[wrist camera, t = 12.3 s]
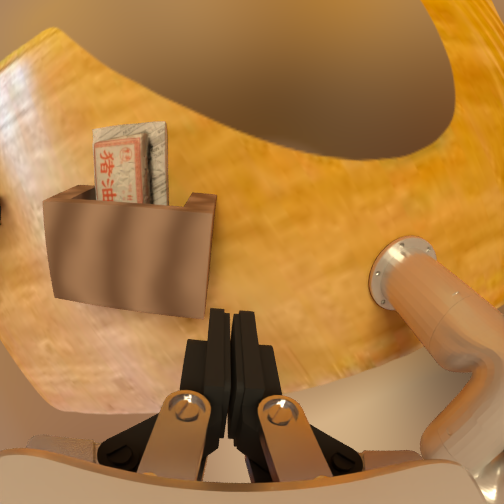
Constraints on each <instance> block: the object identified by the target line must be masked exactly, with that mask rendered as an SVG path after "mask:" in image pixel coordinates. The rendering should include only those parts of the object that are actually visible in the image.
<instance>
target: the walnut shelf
mask: <svg viewBox="0 0 504 504" xmlns="http://www.w3.org/2000/svg"><path fill="white" fill-rule="evenodd" d="M216 197H217V195H214V194H203V193H192V194H191V196H190V198H189V199H188V201H187V202H186V204H185V206H184V207H178V206H167V205H155V204H142V203H129V202H115V201H99V200H96V190H95V186H88V185H77V186H75V187H73V188H70V189H68V190H66V191H64V192H61V193H59V194H57V195H55V196H53V197H50V198H48V199H46V200H44V201H43V215H44V228H45V238H46V247H47V255H48V262H49V269H50V275H51V281H52V286H53V292H54V297H55V298H59V299H65V300H70V301H75V302H81V303H86V304H92V305H98V306H104V307H111V308H117V309H124V310H131V311H138V312H145V313H153V314H161V315H169V316H178V317H187V318H196V319H204V314H205V306H206V297H207V289H208V281H209V269H210V257H211V246H212V236H213V226H214V216H215V206H216Z"/></svg>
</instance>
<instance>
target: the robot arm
mask: <svg viewBox="0 0 504 504" xmlns="http://www.w3.org/2000/svg"><path fill="white" fill-rule="evenodd" d="M369 288H370V292H371V295H372V297H373V298H374V300H375V301H376V302H377V304H378V305H379V306H381V307H383V308H385V309H388V310H396V311H397V312H398V314H399V315H400V316H401V317H402V319H403V320H404V321H405V322H406V324H407V325H408V326H409V327H410V329H411V330H412V331H413V332H414V334H415V335H416V336H417V338H418V339H419V340H420V341H421V343H422V344H423V345H424V347H425V348H426V349H427V350H428V352H429V353H430V354H431V356H432V357H433V358H434V359H435V361H436V362H437V363H438V364H439V365H440V366H441V367H442V368H444V369H446V370H448V371H451V372H459V373H468V372H472V376H471V378H470V380H469V381H468V382H467V384H466V385H465V386H464V388H463V389H462V390H461V391H460V393H459V394H458V395H457V396H456V397H455V398H454V399H453V400H452V401H451V402H450V403H449V405H448V406H447V407H446V408H445V409H444V410H443V411H442V412H441V413H440V414H439V415H438V416H437V417H436V418H435V419H434V420H433V421H432V422H431V423H430V424H429V426H428V427H427V428H426V430H425V431H424V433H423V435H422V437H421V441H420V451H421V455H422V457H423V458H422V457H421V456H420V455H419V454H418V453H416V452H414V451H410V450H400V451H366V450H365V451H363V452H362V453H358V452H356V451H355V450H354V449H352V448H350V447H349V446H347V445H345V444H343V443H341V442H340V441H338V440H336V439H334V438H332V437H330V436H329V435H327V434H325V433H324V432H322V431H320V430H319V429H317V428H315V427H314V426H312V425H310V424H309V422H308V420H307V418H306V416H305V413H304V411H303V409H302V407H301V406H300V404H299V403H297V402H296V401H295V400H294V399H292V398H290V397H287V396H283V395H282V392H281V387H280V382H279V377H278V371H277V366H276V361H275V356H274V351H273V347H272V346H271V345H259V344H258V337H257V330H256V323H255V315H254V312H252V311H239V314H234V316H233V323H232V331H231V339H230V313H224V309H216V308H210V318H209V330H208V341H201V340H191V339H188V340H187V346H186V352H185V358H184V364H183V371H182V377H181V384H180V391H176V392H173V393H171V394H170V395H169V396H167V397H166V399H165V401H164V402H163V405H162V407H161V410H160V412H159V413H158V414H156V415H154V416H152V417H151V418H149V419H147V420H145V421H143V422H141V423H139V424H137V425H135V426H133V427H131V428H129V429H127V430H125V431H123V432H121V433H119V434H117V435H115V436H113V437H111V438H109V439H107V440H106V441H104V442H103V443H99V442H94V440H89V439H77V438H66V437H58V436H49V435H36V436H34V437H32V438H31V439H30V440H29V441H28V443H27V446H26V448H12V449H6V450H2V451H0V504H504V315H503V314H502V313H501V312H499V311H498V310H497V309H496V308H494V307H493V306H492V305H491V304H490V303H489V302H487V301H486V300H485V299H484V298H483V297H481V296H480V295H479V294H478V293H476V292H475V291H474V290H473V289H472V288H470V287H469V286H468V285H467V284H466V283H464V282H463V281H462V280H461V279H459V278H458V277H457V276H456V275H454V274H453V273H452V272H450V271H449V270H448V269H447V268H445V267H444V266H443V265H441V264H440V263H439V262H437V259H436V254H435V251H434V249H433V247H432V246H431V245H430V244H429V243H428V242H427V241H426V240H424V239H422V238H420V237H418V236H405V237H401V238H399V239H397V240H395V241H393V242H392V243H390V244H389V245H388V246H387V247H386V248H385V249H384V250H383V251H382V252H381V253H380V254H379V256H378V257H377V259H376V260H375V262H374V264H373V267H372V270H371V272H370V278H369ZM227 415H228V438H229V439H234V446H236V447H237V449H238V450H239V451H240V452H242V453H243V454H244V455H245V462H246V465H247V469H248V473H249V477H250V480H251V483H218V482H203V476H204V472H205V467H206V463H207V457H208V455H209V454H211V453H212V452H213V451H215V450H216V449H218V446H219V438H224V432H225V425H226V418H227Z"/></svg>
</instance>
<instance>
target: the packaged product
mask: <svg viewBox="0 0 504 504" xmlns="http://www.w3.org/2000/svg"><path fill="white" fill-rule="evenodd" d="M93 156H94V177H95V190H96V200H99V201H115V202H129V203H142V204H155V205H167V206H169V200H168V152H167V127H166V122H165V121H163V122H147V123H138V124H124V125H116V126H109V127H103V128H98V129H93Z"/></svg>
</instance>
